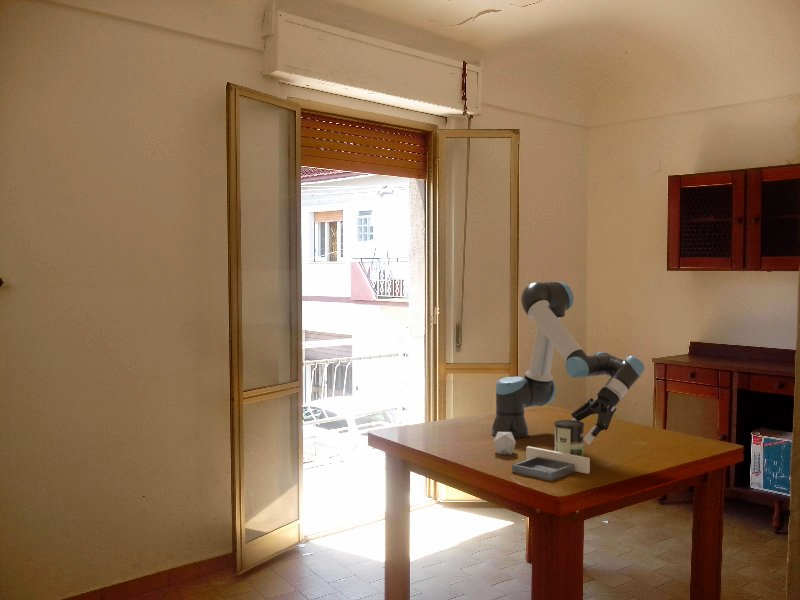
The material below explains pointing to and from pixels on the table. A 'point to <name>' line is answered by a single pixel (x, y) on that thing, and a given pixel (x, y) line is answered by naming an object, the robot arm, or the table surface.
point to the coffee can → (569, 437)
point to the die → (504, 442)
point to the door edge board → (560, 458)
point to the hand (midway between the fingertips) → (575, 438)
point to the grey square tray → (543, 468)
